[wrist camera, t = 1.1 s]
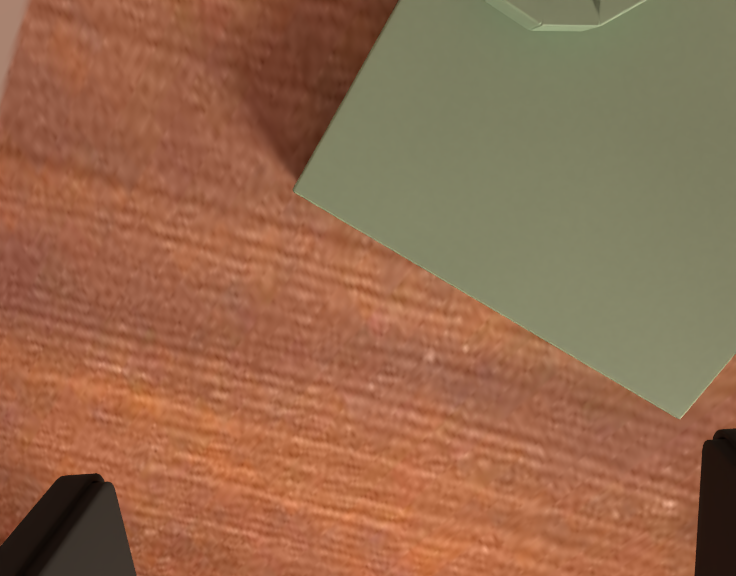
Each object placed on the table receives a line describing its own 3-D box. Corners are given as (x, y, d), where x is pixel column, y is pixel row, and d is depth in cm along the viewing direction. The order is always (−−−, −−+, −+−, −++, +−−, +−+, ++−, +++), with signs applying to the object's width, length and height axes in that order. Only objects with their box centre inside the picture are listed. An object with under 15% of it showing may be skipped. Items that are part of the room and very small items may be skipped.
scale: (295, 184, 22) (282, 198, 19) (529, -233, 19) (556, -292, 16) (663, 402, 24) (700, 444, 22) (941, 67, 21) (1030, 63, 18)
